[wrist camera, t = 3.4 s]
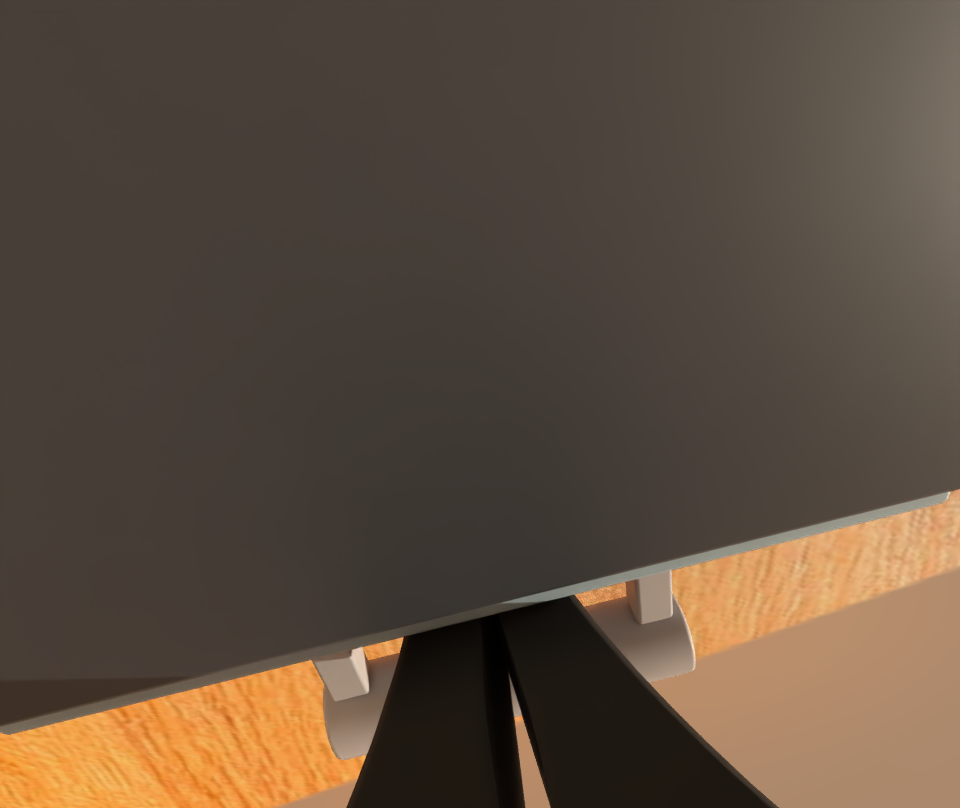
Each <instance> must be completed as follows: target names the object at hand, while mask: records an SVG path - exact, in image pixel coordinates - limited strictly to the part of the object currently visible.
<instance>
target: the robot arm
mask: <svg viewBox="0 0 960 808" xmlns="http://www.w3.org/2000/svg"><path fill="white" fill-rule="evenodd" d="M509 675H510V678H511V681H512V685H513V688H514V691H515V694H516V698H517V701H518V704H519V707H520V710H521V714H522V717H523V720H524V723H525V726H526V730H527V733H528V736H529V739H530V743H531V745H532V749H533V752H534V755H535V758H536V762H537V765H538V768H539V771H540V774H541V778H542V781H543V784H544V787H545V790H546V794H547V797H548V800H549V803H550V806H551V808H778V807H777V806H776V805H775V804H774V803H773V802H772V801H770V800H769V799H768V798H767V797H766V796H765V795H764V794H762V793H761V792H760V791H759V790H758V789H757V788H756V787H754V786H753V785H752V784H751V783H750V782H749V781H748V780H747V779H746V778H744V777H743V776H742V775H741V774H740V773H739V772H738V771H737V770H736V769H735V768H734V767H733V766H732V765H731V764H730V763H729V762H728V761H726V760H725V759H724V758H723V757H722V756H721V755H720V754H719V753H718V752H717V751H716V750H715V749H714V748H713V747H712V746H710V744H708V743H707V742H706V741H705V740H704V739H703V738H702V737H701V736H700V735H699V734H698V733H697V732H696V731H695V730H694V729H693V728H692V727H691V726H690V725H689V724H688V723H687V722H686V721H685V720H684V719H683V718H682V717H681V716H680V715H679V714H678V713H677V712H676V711H675V710H674V709H673V708H672V707H671V706H670V705H669V704H668V703H667V702H666V700H665V699H664V698H663V697H662V696H661V695H660V694H659V693H658V692H657V691H656V690H655V689H654V688H653V687H652V686H651V685H650V684H649V682H648V681H647V680H646V679H645V678H644V677H643V676H642V675H641V674H640V673H639V672H638V670H637V669H636V668H635V667H634V666H633V665H632V664H631V663H630V661H629V660H628V659H627V658H626V657H625V656H624V655H623V653H622V652H621V651H620V650H619V649H618V648H617V647H616V646H615V644H614V643H613V642H612V641H611V640H610V639H609V637H608V636H607V635H606V634H605V633H604V631H603V630H602V629H601V628H600V627H599V625H598V624H597V623H596V622H595V620H594V619H593V618H592V617H591V615H590V614H589V613H588V612H587V610H586V609H585V608H584V606H583V605H582V604H581V603H580V601H579V600H578V599H577V597H576V596H575V595H570V596H566V597H562V598H558V599H554V600H550V601H546V602H542V603H538V604H534V605H530V606H526V607H522V608H518V609H514V610H510V611H506V612H502V613H498V614H494V615H490V616H486V617H482V618H478V619H474V620H470V621H465V622H461V623H457V624H453V625H449V626H445V627H441V628H437V629H433V630H429V631H425V632H421V633H417V634H413V635H409V636H405V637H404V639H403V643H402V647H401V650H400V654H399V658H398V661H397V665H396V668H395V672H394V675H393V678H392V681H391V684H390V687H389V690H388V694H387V697H386V700H385V703H384V706H383V709H382V712H381V715H380V718H379V722H378V725H377V728H376V731H375V734H374V736H373V739H372V742H371V745H370V748H369V750H368V753H367V756H366V759H365V761H364V764H363V767H362V769H361V772H360V775H359V777H358V780H357V783H356V785H355V788H354V790H353V793H352V795H351V798H350V800H349V803H348V805H347V808H525V801H524V793H523V785H522V777H521V769H520V760H519V753H518V744H517V736H516V728H515V720H514V712H513V704H512V695H511V688H510V680H509Z"/></svg>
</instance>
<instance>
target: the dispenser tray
mask: <svg viewBox="0 0 960 808" xmlns="http://www.w3.org/2000/svg"><path fill="white" fill-rule="evenodd" d="M949 494H950V492H946V493H942V494H938V495H934V496H930V497H926V498H922V499H918V500H913V501H909V502H905V503H901V504H897V505H893V506H889V507H885V508H881V509H877V510H873V511H869V512H865V513H861V514H857V515H853V516H849V517H845V518H841V519H837V520H833V521H829V522H825V523H821V524H817V525H813V526H809V527H805V528H800V529H796V530H792V531H788V532H784V533H780V534H776V535H772V536H768V537H764V538H760V539H756V540H752V541H748V542H744V543H740V544H736V545H732V546H728V547H724V548H720V549H716V550H712V551H708V552H704V553H700V554H696V555H691V556H687V557H683V558H679V559H675V560H671V561H667V562H663V563H659V564H655V565H651V566H647V567H643V568H639V569H635V570H631V571H627V572H623V573H619V574H615V575H611V576H607V577H603V578H599V579H595V580H591V581H587V582H582V583H578V584H574V585H570V586H566V587H562V588H558V589H554V590H550V591H546V592H542V593H538V594H534V595H530V596H526V597H522V598H518V599H514V600H510V601H506V602H502V603H498V604H494V605H490V606H486V607H482V608H478V609H474V610H469V611H465V612H461V613H457V614H453V615H449V616H445V617H441V618H437V619H433V620H429V621H425V622H421V623H417V624H413V625H409V626H405V627H401V628H397V629H393V630H389V631H385V632H381V633H377V634H373V635H369V636H365V637H360V638H356V639H352V640H348V641H344V642H340V643H336V644H332V645H328V646H324V647H320V648H316V649H312V650H308V651H304V652H300V653H296V654H292V655H288V656H284V657H280V658H276V659H272V660H268V661H264V662H260V663H256V664H252V665H247V666H243V667H239V668H235V669H231V670H227V671H223V672H219V673H215V674H211V675H207V676H203V677H199V678H195V679H191V680H187V681H183V682H179V683H175V684H171V685H167V686H163V687H159V688H155V689H151V690H147V691H143V692H138V693H134V694H130V695H126V696H122V697H118V698H114V699H110V700H106V701H102V702H98V703H94V704H90V705H86V706H82V707H78V708H74V709H70V710H66V711H62V712H58V713H54V714H50V715H46V716H42V717H38V718H34V719H30V720H25V721H21V722H17V723H13V724H9V725H5V726H1V727H0V732H1V733H3V734H9V735H10V734H14V733H18V732H22V731H26V730H30V729H34V728H38V727H42V726H46V725H51V724H55V723H59V722H63V721H67V720H71V719H75V718H79V717H83V716H87V715H91V714H95V713H99V712H103V711H107V710H111V709H115V708H119V707H123V706H127V705H131V704H135V703H139V702H143V701H147V700H151V699H155V698H159V697H163V696H167V695H171V694H175V693H179V692H183V691H188V690H192V689H196V688H200V687H204V686H208V685H212V684H216V683H220V682H224V681H228V680H232V679H236V678H240V677H244V676H248V675H252V674H256V673H260V672H264V671H268V670H272V669H276V668H280V667H284V666H288V665H292V664H296V663H300V662H304V661H308V660H312V662H313V664H314V666H315V668H316V669H317V671H318V673H319V675H320V677H321V679H322V681H323V683H324V691H323V710H324V720H325V726H326V731H327V735H328V739H329V742H330V745H331V747H332V750H333V752H334V754H335V755H336V757H337V758H338V759H341V760H347V759H351V758H355V757H359V756H363V755H367V753H368V750H369V748H370V745H371V742H372V739H373V736H374V734H375V731H376V728H377V725H378V722H379V718H380V715H381V712H382V709H383V706H384V703H385V700H386V697H387V694H388V690H389V687H390V684H391V681H392V678H393V675H394V672H395V668H396V665H397V661H398V658H399V654H400V653H397V654H393V655H389V656H385V657H381V658H377V659H373V660H369V661H368V659H367V657H366V655H365V653H364V651H363V648H362V647H365V646H369V645H373V644H377V643H381V642H385V641H389V640H393V639H397V638H401V637H405V636H409V635H413V634H417V633H421V632H425V631H429V630H433V629H437V628H441V627H445V626H449V625H453V624H457V623H461V622H465V621H470V620H474V619H478V618H482V617H486V616H490V615H494V614H498V613H502V612H506V611H510V610H514V609H518V608H522V607H526V606H530V605H534V604H538V603H542V602H546V601H550V600H554V599H558V598H562V597H566V596H570V595H574V594H578V593H582V592H586V591H590V590H594V589H598V588H602V587H606V586H611V585H615V584H619V583H623V582H626V592H627V596H626V597H622V598H618V599H614V600H610V601H606V602H602V603H598V604H594V605H590V606H586V607H584V608H585V609H586V610H587V612H588V613H589V614H590V615H591V617H592V618H593V619H594V620H595V622H596V623H597V624H598V625H599V627H600V628H601V629H602V630H603V631H604V633H605V634H606V635H607V636H608V637H609V639H610V640H611V641H612V642H613V643H614V644H615V646H616V647H617V648H618V649H619V650H620V651H621V652H622V653H623V655H624V656H625V657H626V658H627V659H628V660H629V661H630V663H631V664H632V665H633V666H634V667H635V668H636V669H637V670H638V672H639V673H640V674H641V675H642V676H643V677H644V678H645V679H646V680H647V681H648V682H649V683H651V682H654V681H659V680H663V679H666V678H671V677H674V676H678V675H682V674H686V673H690V672H691V671H693V670H694V668H695V650H694V645H693V640H692V637H691V633H690V630H689V627H688V624H687V621H686V618H685V616H684V614H683V611H682V609H681V607H680V605H679V603H678V601H677V600H676V598H675V597H674V595H673V594H672V570H675V569H679V568H683V567H687V566H691V565H695V564H699V563H703V562H707V561H711V560H715V559H719V558H723V557H727V556H731V555H735V554H739V553H743V552H748V551H752V550H756V549H760V548H764V547H768V546H772V545H776V544H780V543H784V542H788V541H792V540H796V539H800V538H804V537H808V536H812V535H816V534H820V533H824V532H828V531H832V530H836V529H840V528H844V527H848V526H852V525H856V524H860V523H864V522H868V521H872V520H876V519H880V518H884V517H889V516H893V515H897V514H901V513H905V512H909V511H913V510H917V509H921V508H925V507H929V506H933V505H937V504H941V503H943V502H945V501H946V500H947V499H948V497H949ZM509 680H510V688H511V695H512V704H513V712H514V717H517V716H521V715H522V714H521V710H520V707H519V704H518V701H517V698H516V694H515V691H514V688H513V685H512V681H511V678H510V675H509Z"/></svg>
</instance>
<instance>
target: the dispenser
mask: <svg viewBox="0 0 960 808" xmlns="http://www.w3.org/2000/svg"><path fill="white" fill-rule="evenodd" d="M958 489H960V0H0V727H1V726H5V725H9V724H13V723H17V722H21V721H25V720H30V719H34V718H38V717H42V716H46V715H50V714H54V713H58V712H62V711H66V710H70V709H74V708H78V707H82V706H86V705H90V704H94V703H98V702H102V701H106V700H110V699H114V698H118V697H122V696H126V695H130V694H134V693H138V692H143V691H147V690H151V689H155V688H159V687H163V686H167V685H171V684H175V683H179V682H183V681H187V680H191V679H195V678H199V677H203V676H207V675H211V674H215V673H219V672H223V671H227V670H231V669H235V668H239V667H243V666H247V665H252V664H256V663H260V662H264V661H268V660H272V659H276V658H280V657H284V656H288V655H292V654H296V653H300V652H304V651H308V650H312V649H316V648H320V647H324V646H328V645H332V644H336V643H340V642H344V641H348V640H352V639H356V638H360V637H365V636H369V635H373V634H377V633H381V632H385V631H389V630H393V629H397V628H401V627H405V626H409V625H413V624H417V623H421V622H425V621H429V620H433V619H437V618H441V617H445V616H449V615H453V614H457V613H461V612H465V611H469V610H474V609H478V608H482V607H486V606H490V605H494V604H498V603H502V602H506V601H510V600H514V599H518V598H522V597H526V596H530V595H534V594H538V593H542V592H546V591H550V590H554V589H558V588H562V587H566V586H570V585H574V584H578V583H582V582H587V581H591V580H595V579H599V578H603V577H607V576H611V575H615V574H619V573H623V572H627V571H631V570H635V569H639V568H643V567H647V566H651V565H655V564H659V563H663V562H667V561H671V560H675V559H679V558H683V557H687V556H691V555H696V554H700V553H704V552H708V551H712V550H716V549H720V548H724V547H728V546H732V545H736V544H740V543H744V542H748V541H752V540H756V539H760V538H764V537H768V536H772V535H776V534H780V533H784V532H788V531H792V530H796V529H800V528H805V527H809V526H813V525H817V524H821V523H825V522H829V521H833V520H837V519H841V518H845V517H849V516H853V515H857V514H861V513H865V512H869V511H873V510H877V509H881V508H885V507H889V506H893V505H897V504H901V503H905V502H909V501H913V500H918V499H922V498H926V497H930V496H934V495H938V494H942V493H946V492H950V491H954V490H958Z"/></svg>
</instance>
